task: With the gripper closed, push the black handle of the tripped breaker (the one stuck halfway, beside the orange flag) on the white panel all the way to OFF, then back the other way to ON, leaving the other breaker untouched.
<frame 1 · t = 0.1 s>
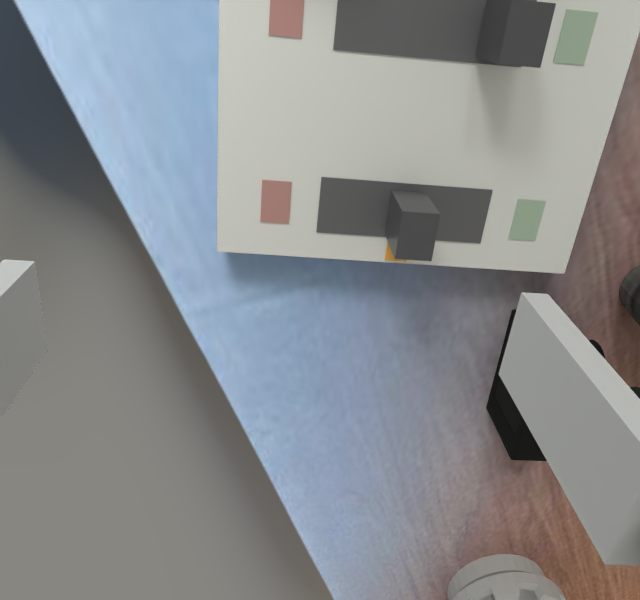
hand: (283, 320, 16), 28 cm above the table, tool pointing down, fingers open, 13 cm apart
tripped breaker: (410, 224, 38), point 6 cm above the table, slide at 4.0 cm
flag stand: (494, 585, 65), on the table
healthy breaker: (512, 32, 33), point 6 cm above the table, slide at 8.0 cm
breaker panel: (409, 115, 41), on the table
digital camera: (527, 360, 51), on the table
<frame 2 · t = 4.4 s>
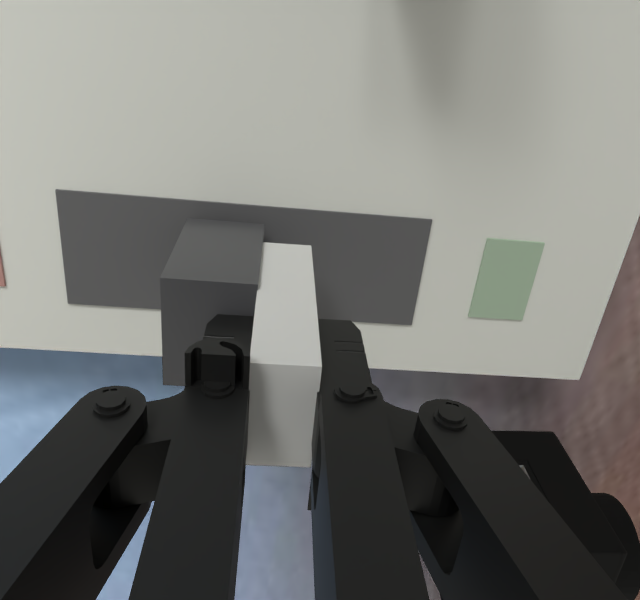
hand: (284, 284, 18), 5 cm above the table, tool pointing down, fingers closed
tripped breaker: (217, 298, 17), point 6 cm above the table, slide at 3.3 cm, touching gripper
breaker panel: (259, 62, 20), on the table
digital camera: (500, 505, 30), on the table
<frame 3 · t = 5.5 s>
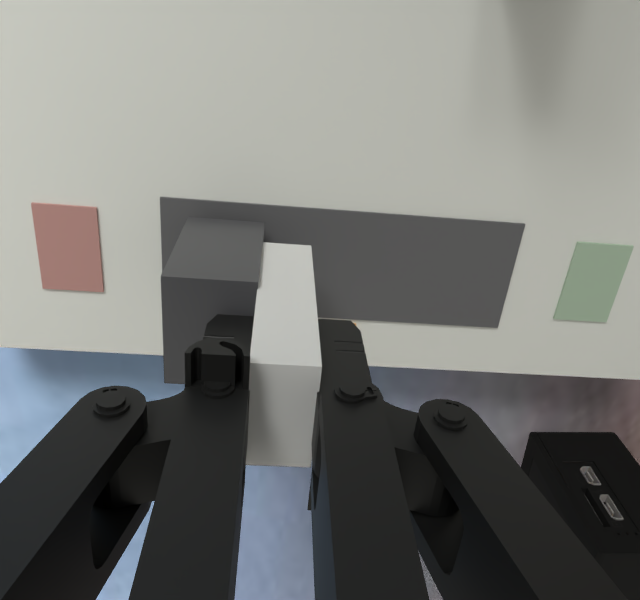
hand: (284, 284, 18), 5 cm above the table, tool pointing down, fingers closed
tripped breaker: (218, 296, 17), point 6 cm above the table, slide at 0.2 cm, touching gripper
breaker panel: (352, 70, 20), on the table
digital camera: (558, 506, 30), on the table
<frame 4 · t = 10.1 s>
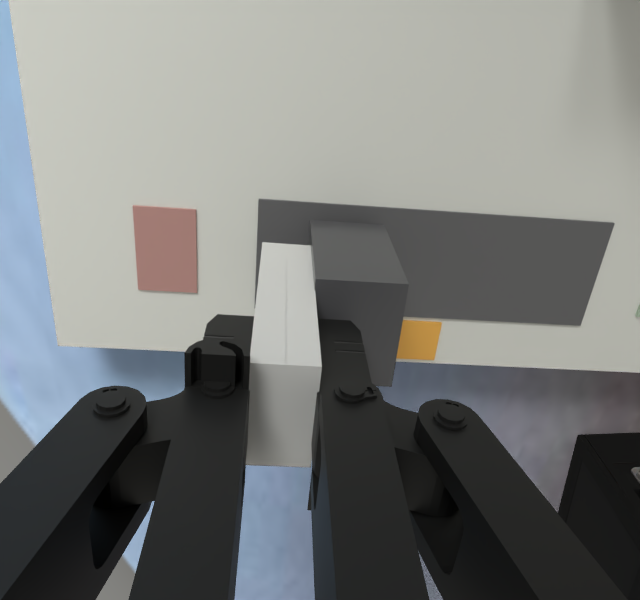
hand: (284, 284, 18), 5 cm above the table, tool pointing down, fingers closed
tripped breaker: (348, 297, 17), point 6 cm above the table, slide at 0.9 cm, touching gripper
breaker panel: (441, 72, 20), on the table
digital camera: (606, 505, 31), on the table
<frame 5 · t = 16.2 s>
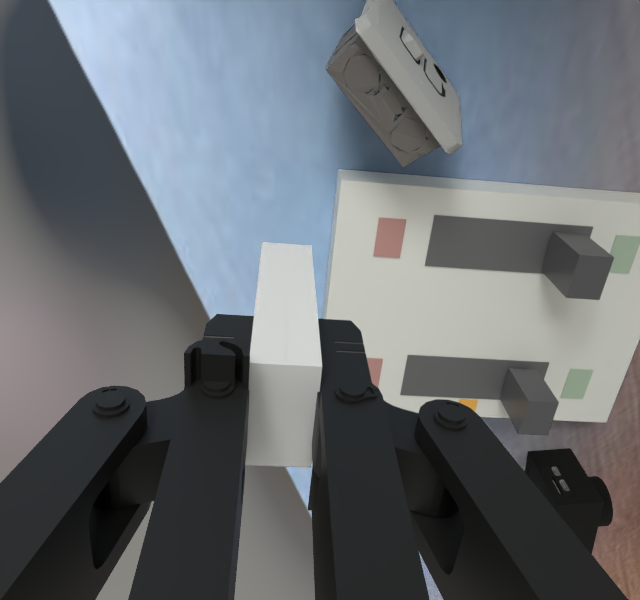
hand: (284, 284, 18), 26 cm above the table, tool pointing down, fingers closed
tripped breaker: (527, 400, 47), point 6 cm above the table, slide at 7.7 cm
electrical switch: (391, 72, 40), on the table
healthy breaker: (575, 264, 41), point 6 cm above the table, slide at 8.0 cm
breaker panel: (479, 298, 49), on the table
digital camera: (547, 486, 60), on the table
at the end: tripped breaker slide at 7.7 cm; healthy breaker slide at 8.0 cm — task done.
